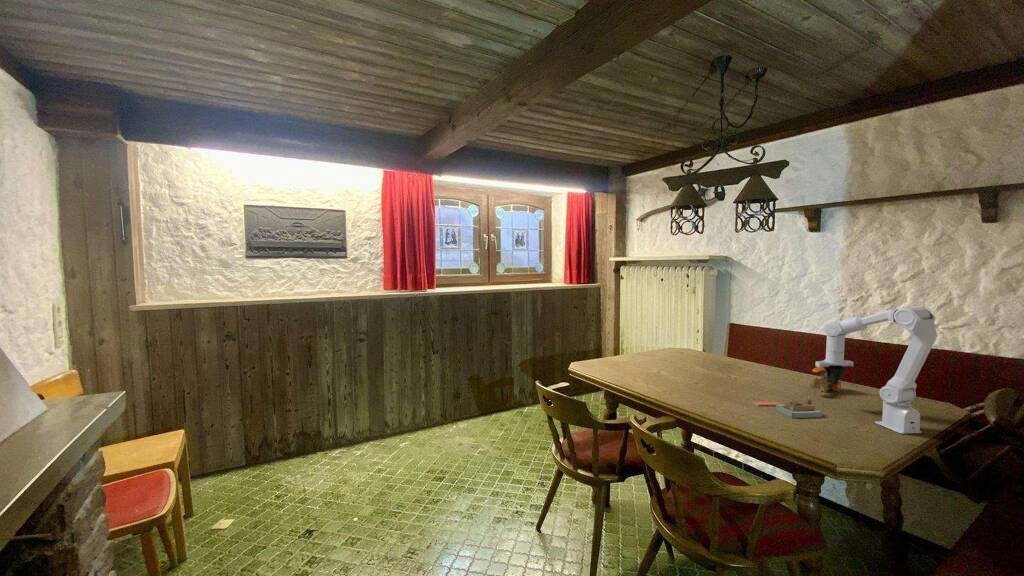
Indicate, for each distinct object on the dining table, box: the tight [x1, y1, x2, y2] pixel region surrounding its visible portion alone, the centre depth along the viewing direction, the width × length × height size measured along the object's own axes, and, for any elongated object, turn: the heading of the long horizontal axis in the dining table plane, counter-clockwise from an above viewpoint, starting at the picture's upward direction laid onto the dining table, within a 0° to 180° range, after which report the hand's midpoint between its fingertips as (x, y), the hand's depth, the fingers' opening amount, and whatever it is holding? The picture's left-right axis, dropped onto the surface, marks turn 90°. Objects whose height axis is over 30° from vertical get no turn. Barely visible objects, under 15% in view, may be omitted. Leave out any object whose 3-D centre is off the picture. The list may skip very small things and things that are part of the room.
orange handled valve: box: [809, 366, 842, 393], centre depth 181 cm, size 8×21×14 cm, turn 122°
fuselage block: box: [784, 399, 816, 412], centre depth 157 cm, size 4×9×6 cm, turn 94°
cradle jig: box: [775, 404, 823, 419], centre depth 157 cm, size 8×12×2 cm
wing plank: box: [752, 401, 783, 407], centre depth 167 cm, size 10×4×1 cm, turn 88°
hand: (833, 383), depth 163 cm, fingers closed
